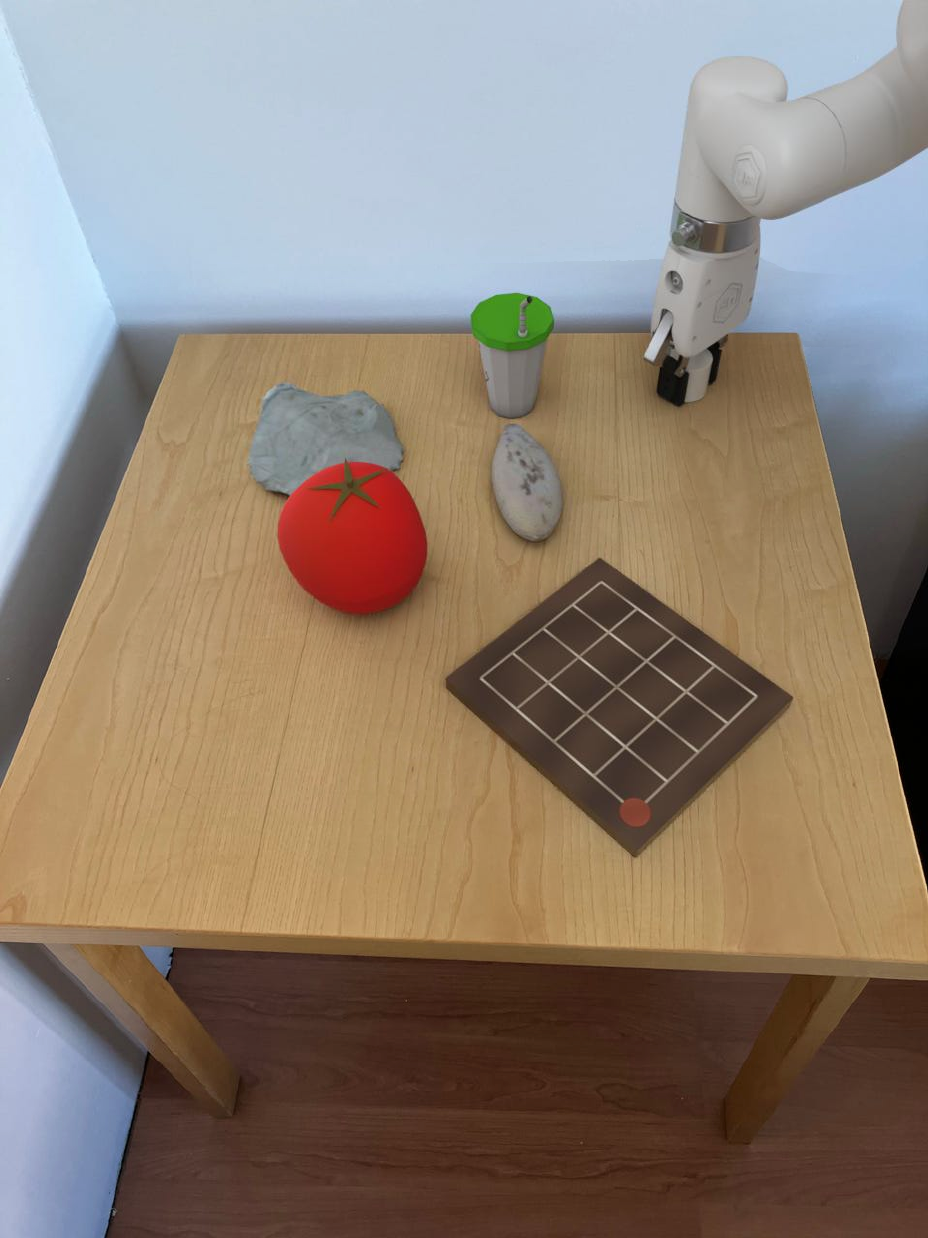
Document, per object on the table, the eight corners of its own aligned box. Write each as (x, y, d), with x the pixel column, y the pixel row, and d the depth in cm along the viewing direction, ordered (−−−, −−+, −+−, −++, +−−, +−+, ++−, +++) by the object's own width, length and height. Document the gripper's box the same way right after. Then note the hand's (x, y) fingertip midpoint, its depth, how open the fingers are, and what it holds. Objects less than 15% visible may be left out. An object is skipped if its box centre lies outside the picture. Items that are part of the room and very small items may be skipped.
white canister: (715, 388, 98) (721, 356, 94) (688, 408, 96) (694, 375, 93) (682, 370, 100) (688, 338, 96) (656, 389, 98) (660, 356, 95)
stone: (308, 511, 85) (205, 414, 90) (308, 541, 89) (209, 445, 94) (434, 433, 93) (333, 347, 97) (430, 463, 96) (332, 378, 101)
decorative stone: (539, 433, 95) (540, 406, 92) (576, 548, 85) (578, 521, 83) (478, 442, 94) (477, 415, 92) (509, 558, 85) (509, 532, 82)
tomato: (454, 556, 85) (445, 450, 75) (400, 657, 79) (382, 556, 69) (331, 522, 89) (307, 416, 79) (269, 615, 82) (235, 513, 72)
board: (789, 707, 74) (794, 696, 73) (635, 859, 67) (637, 849, 66) (598, 568, 84) (599, 556, 83) (445, 688, 77) (444, 677, 76)
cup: (481, 375, 100) (477, 244, 89) (555, 382, 99) (561, 250, 87) (466, 425, 96) (460, 293, 84) (544, 433, 95) (548, 301, 83)
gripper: (687, 277, 78) (660, 445, 93) (809, 197, 85) (766, 366, 99) (617, 242, 82) (602, 409, 96) (740, 168, 88) (708, 335, 103)
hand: (686, 386), depth 98 cm, fingers closed on white canister, 4 cm apart
